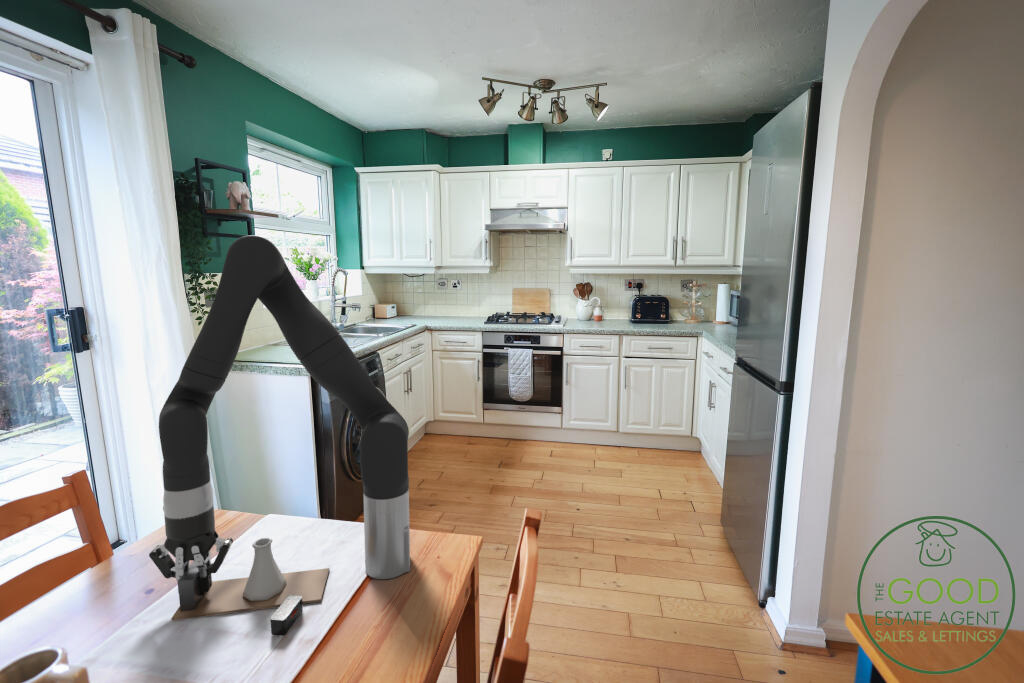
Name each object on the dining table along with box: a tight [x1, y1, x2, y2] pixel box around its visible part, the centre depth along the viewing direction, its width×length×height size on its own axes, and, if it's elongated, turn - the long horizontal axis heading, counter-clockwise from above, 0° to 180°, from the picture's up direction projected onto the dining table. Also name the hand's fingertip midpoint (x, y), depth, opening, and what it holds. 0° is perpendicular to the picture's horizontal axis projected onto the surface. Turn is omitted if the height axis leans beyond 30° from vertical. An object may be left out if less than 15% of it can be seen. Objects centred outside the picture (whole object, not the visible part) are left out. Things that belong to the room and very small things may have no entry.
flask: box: [242, 537, 286, 601], centre depth 91 cm, size 7×7×10 cm
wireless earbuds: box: [269, 595, 304, 637], centre depth 83 cm, size 5×7×3 cm, turn 176°
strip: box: [171, 560, 330, 621], centre depth 91 cm, size 25×10×6 cm, turn 103°
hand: (195, 593), depth 88 cm, fingers closed on strip, 2 cm apart
